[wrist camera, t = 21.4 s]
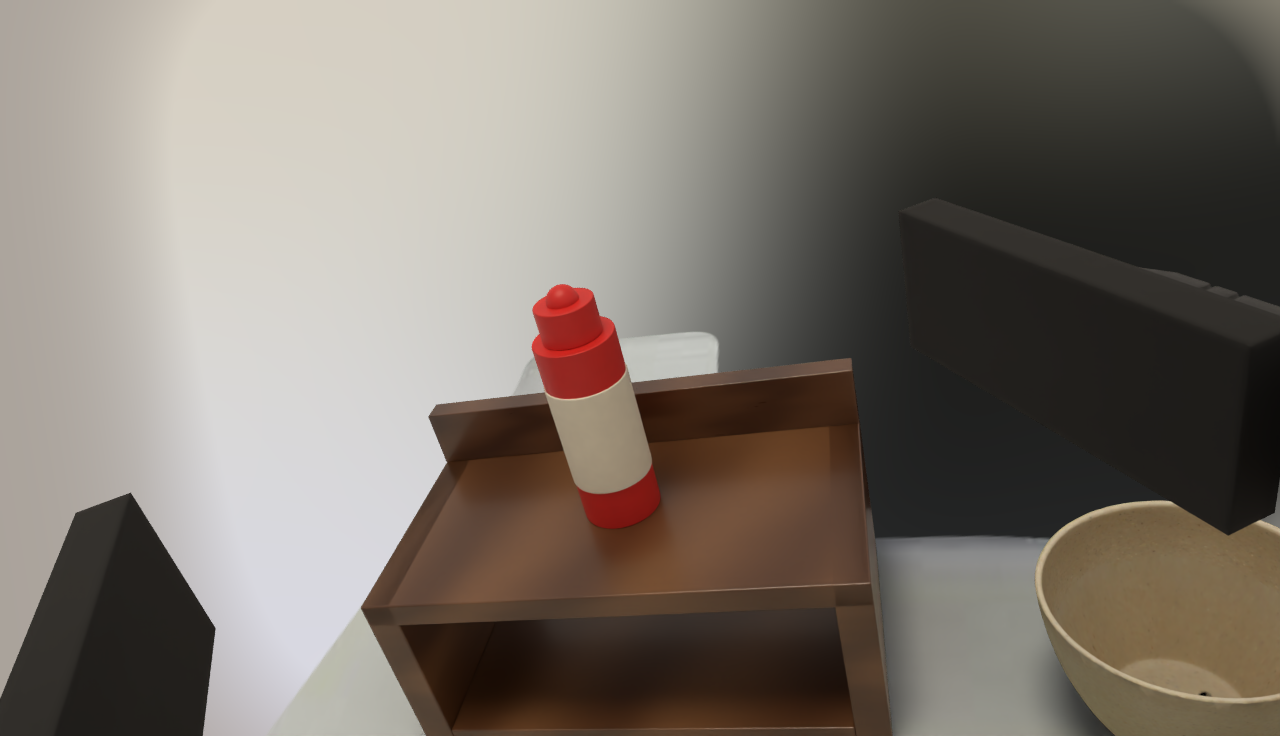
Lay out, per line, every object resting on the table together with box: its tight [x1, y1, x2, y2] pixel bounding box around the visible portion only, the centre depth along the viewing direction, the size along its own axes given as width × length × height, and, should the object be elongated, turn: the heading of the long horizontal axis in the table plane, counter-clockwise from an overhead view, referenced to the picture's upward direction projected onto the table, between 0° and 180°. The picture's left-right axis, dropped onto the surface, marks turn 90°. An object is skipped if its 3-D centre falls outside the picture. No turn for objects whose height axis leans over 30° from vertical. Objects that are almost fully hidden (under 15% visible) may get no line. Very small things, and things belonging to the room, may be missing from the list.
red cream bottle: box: [532, 284, 661, 529], centre depth 38 cm, size 4×4×11 cm
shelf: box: [361, 358, 893, 736], centre depth 42 cm, size 22×12×12 cm, turn 81°
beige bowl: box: [1035, 501, 1280, 736], centre depth 34 cm, size 10×10×7 cm
